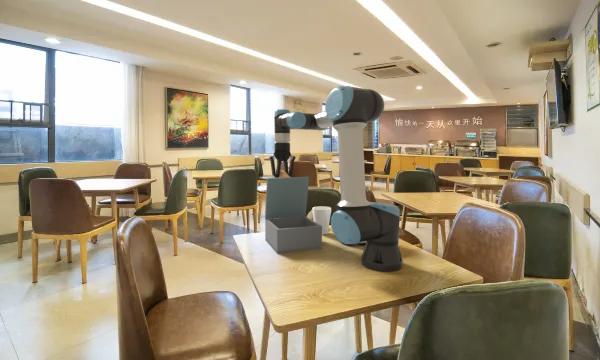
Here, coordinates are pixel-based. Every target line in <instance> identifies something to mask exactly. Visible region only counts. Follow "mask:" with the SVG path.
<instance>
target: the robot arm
mask: <svg viewBox="0 0 600 360" xmlns="http://www.w3.org/2000/svg"><path fill="white" fill-rule="evenodd" d="M324 108H325V109H324V110H323V111H320V112H317V113H307V112H301V111H295V110H294V111H290V110H289V109H285V108H283V109H281V108H280V109H279V108H278V109H276V110H275V111H274V117H273V119H274V120H273V122H274V152H273V154H272V155H270V156H268V159H269V161H270V167H271V175H272V176H273V178H280V170H281V167H282V166H281V165H282V162H283V169H284V171H285V172H286V173H287V174H288V175H289V176H290V177H293V172H294V165H295V160H296V156H295V155H292V153H291V143H290V142H291V130H304V131H305V130H306V131H307V130H311V131H325V130H327V129H328V128H333V129H334V130H335V131H336V132H337V143H338V145H337V146H338V162H339V163H338V165H339V166H338V167H339V180H340V181H339V182H340V183H339V184H340V185H339V186H340V201H339V202H338V203H336V211H334V212H333V213H332V215H331V216H330V226H331V231H332V233H333V235H334V237H336V239H337V240H338V241H339V242H340V243H342V244H345V245H357V244H356V243H359V242H364V241H366V244H364V245H365V246H364V248H363V251H362V253H361V257H360V263H361V264H362V265H363V267H365V268H367V269H370V270H373V271H378V272H379V271H380V272H394V271H395V272H396V271H398V270H401V269H402V268H403V263H404V262H403V257H402V253H401V250H400V246H399V240H400V238H399V237H400V219H401V216H400V208H399V207H398V206H397V205H395V204H390V203H384V202H376V201H369V200H368V199H367V195H366V194H367V193H366V178H365V177H366V176H365V175H366V174H365V173H366V172H365V155H364V153H365V152H364V131H363V130H364V129H365V128H366V126H367V123H371V122H375V121H377V120H378V119H379V118H381V116H382V115H383V113H384V110H385V101H384V99H383V97H382V95H381V93H379V91H377V90H374V89H369V88H363V87H355V86H350V85H347V86H345V85H344V86H343V85H338V86H336V87H334V88H333V89H332V90H331V91H330V93H329V94H328V96H327V98H326V101H325V106H324ZM275 159H276V164H275ZM289 159H290V161H289ZM288 161H289V162H288ZM288 163H289V164H288ZM275 165H276V166H275ZM288 165H289V166H288ZM272 176H271V177H272ZM400 268H401V269H400Z"/></svg>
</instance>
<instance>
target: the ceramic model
mask: <svg viewBox="0 0 600 360" xmlns="http://www.w3.org/2000/svg"><path fill="white" fill-rule="evenodd" d="M306 217H307V218H309V219H311V220H312V221H314V218H313V213H312V209H311V210H310V211H309V212H308V213H307V214H306Z"/></svg>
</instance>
